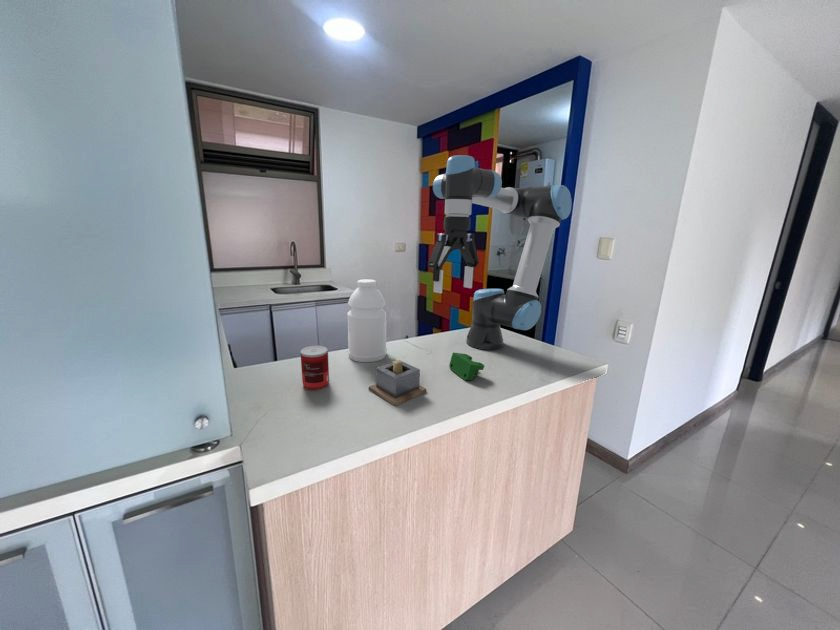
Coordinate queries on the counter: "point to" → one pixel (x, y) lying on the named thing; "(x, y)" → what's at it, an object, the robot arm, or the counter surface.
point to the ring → (397, 379)
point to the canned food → (315, 367)
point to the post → (395, 401)
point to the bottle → (366, 323)
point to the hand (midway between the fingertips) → (453, 290)
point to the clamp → (465, 366)
